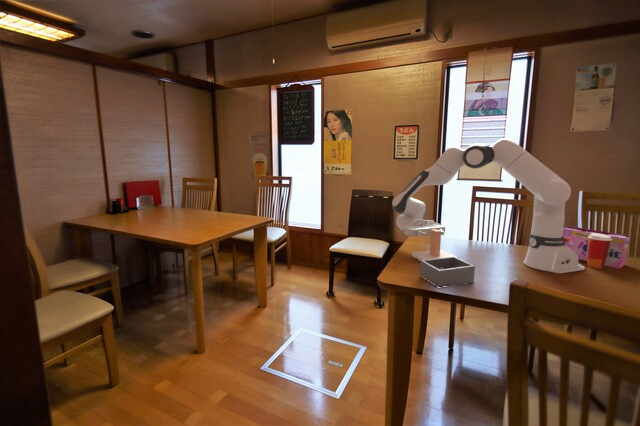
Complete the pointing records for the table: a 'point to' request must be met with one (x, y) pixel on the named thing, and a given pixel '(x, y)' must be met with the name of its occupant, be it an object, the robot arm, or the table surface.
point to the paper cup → (598, 250)
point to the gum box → (581, 241)
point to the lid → (433, 248)
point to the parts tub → (447, 271)
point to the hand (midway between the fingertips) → (434, 234)
